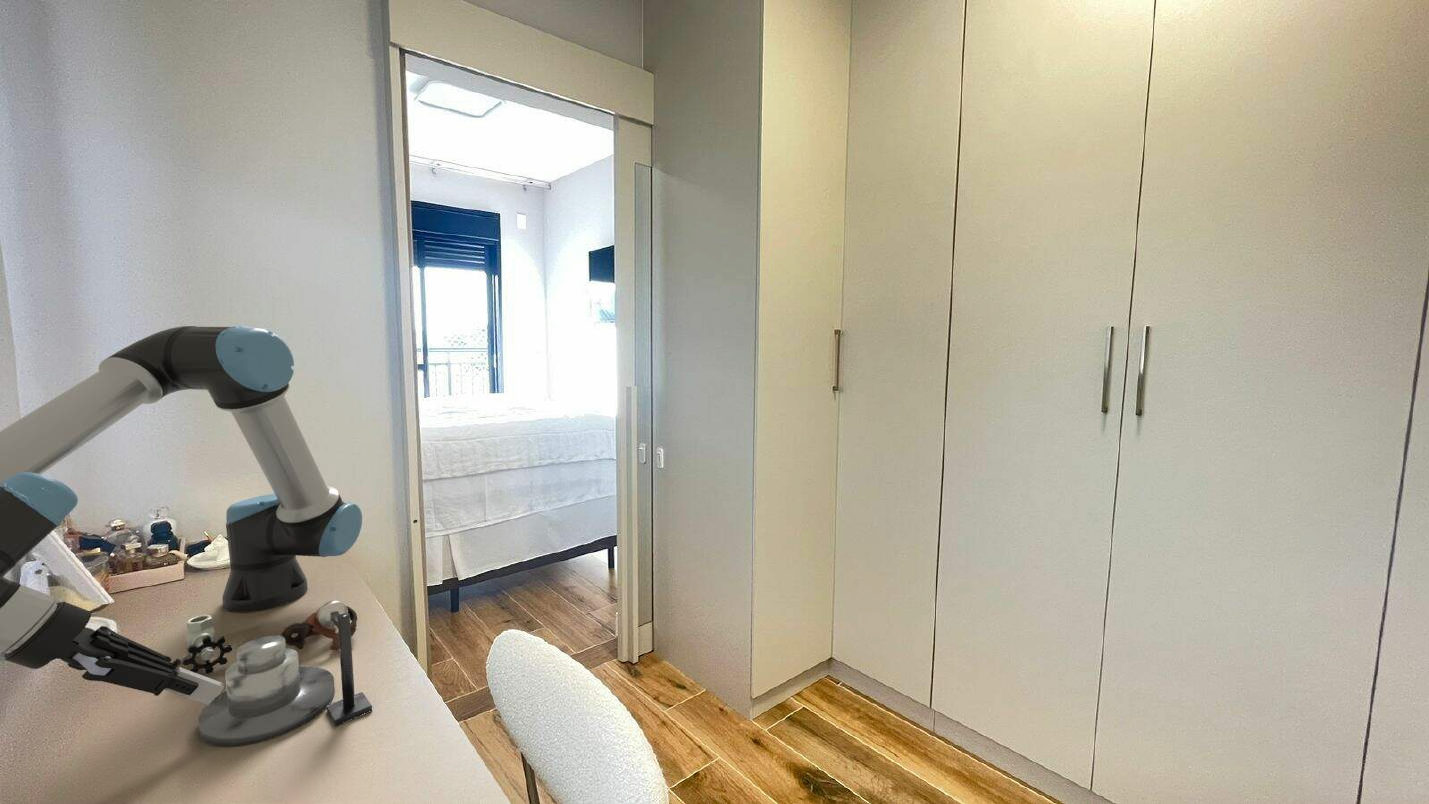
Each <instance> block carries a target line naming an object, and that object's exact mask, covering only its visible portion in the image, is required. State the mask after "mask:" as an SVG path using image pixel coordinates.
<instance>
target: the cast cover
mask: <svg viewBox="0 0 1429 804" xmlns="http://www.w3.org/2000/svg"><path fill="white" fill-rule="evenodd" d="M286 646H287V644H285V638H284V637H282V636H281V635H267V636H262V637H259V638H255V639H252V640H250V641H247V642H245V643H244V644H242V645H240V646H239V647H238V648H237V649H236V653H235V654H236V661H235V662H233V663H232V664H231V665H230V666H229V667H227V669H226V670H225V672H224V676H225V678H224V679H225V691H227V702H228V713H229V714H230V715H231V716H233V717H236V718H251V717H257V716H261V715H264V714H268V713H271V712H273V711H276V710H278V709H280V708H282V707H284V706H286V705H287V704H289V703H290V702H292V701H293V700H294V699H295V698H296V697H297V696H298V695H299V693H300V675H299V667H300V661H299V653H298V651H297V650H295V649H293V648H287V647H286Z"/></svg>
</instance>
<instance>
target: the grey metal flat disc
mask: <svg viewBox="0 0 1429 804" xmlns="http://www.w3.org/2000/svg"><path fill="white" fill-rule="evenodd" d="M299 675H300V693H299V695H298V696H297V697H296V698H295V699H294V700H293V701H292V702H290V703H289V704H287V705H286V706H284V707H282V708H280V709H278V710H276V711H273V712H271V713H268V714H264V715H261V716H257V717H251V718H236V717H233V716H231V715H230V714H229V713H228V702H227V691H226V690H224V691H223V692H220V693H219V694H218V695H217V696H216V697H215V698H214V700H213V701H212V702H211V703H210V704H209V705H207V704H205V706H204V708H203V709H202V710H201V711H200V714H199V716H198V719H197V720H198V732H199V736H200V739H201V740H202V741H203V742H204V743H206V744H207V745H210V746H214V747H219V748H220V747H222V748H233V747H242V746H248V745H253V744H257V743H261V742H265V741H269V740H272V739H275V738H277V737H280V736H283V735H285V734H287V733H290V732H292V731H294V730H296V729H298V728H300V727H302V726H303V725H306V724H307V723H309V722H310V721H312V720H313V719H315V718H316V717H317V716H319V715H320V714H321V713H323V711H324V710H326V709H327V705H329V703H330V702H331V703H332V702H333V699H334V697H335V693H336V689H335V688H336V687H335V677H334V675H333V674H332V673H331V672H330V671H329V670H327V669H324V668H321V667H316V666H299ZM331 703H330V704H331Z"/></svg>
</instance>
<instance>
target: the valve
mask: <svg viewBox="0 0 1429 804" xmlns="http://www.w3.org/2000/svg"><path fill="white" fill-rule="evenodd" d="M186 629H187V632H186V635H185V643H186V645H187V646H188V647H187V653H189V656H190V657H187V656H186V657H183V659H182V660H181V661H182V662H181V663H182V665H183V666H189V665H192V667H190V668H189V671H192V672H194V673H197V674H198V672H199V671H200V670H201V669H203V670H204V672H205V674H212V673H213V672H214V670H215V669H214V666H215V665H218V664H219V665H221V666H224V665H226V664H227V663H228V658H227V657H226V656H224V655H225V654H229V653H231V652H232V651H233V646H232V645H231V644H227V645H226V646H223V645H224V644H225V643H226V641H227V639H226V637H225V636H219V637H218V638H217V640H216V641H215V638H216V634H217V633H216V629H215V627H214V626H213V620H212V615H210V614H201V615H198V616H194V617H191V618H190V619H188V620H186ZM216 648H218V649H219V655H218V656H217V658H216V659H215V660H213V661H211V659H213V658H214V657H215V652H216V651H215V649H216ZM196 657H200V659H201V660H203V661H205V663H204V664H203V663H202V664H201V663H199V662H198V661H196Z"/></svg>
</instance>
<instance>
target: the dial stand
mask: <svg viewBox="0 0 1429 804" xmlns="http://www.w3.org/2000/svg"><path fill="white" fill-rule="evenodd" d="M347 606H348V605H346V604H345V603H344V602H343V601H341V600H338V599H335V600H330V601H327V602H325V603H324V604H323V605H321V607H319V608H320V610H319V612H318V620H319V622H320V623H321V624H322V625H323V626H325V627H336V629H337V631H338V632H337V633H338V634H339V661H340V662H339V665H340V675H341V676H340V679H341V691H342V693H341V694H342V699H340V700H337V701H335V702H331V703H330V704H329V705H327V707H326V713H327V712H328V713H327V714H328V716H329V718H330V720H331V721H332V722H333V724H334V726H335V727H337V726H340V725H343V724H344V723H343V722H345V723H347V722H349V721H348V720H350V721H352V720H355V719H356V718H355V717H357V718H359V717H361V716H360V715H362V714H364V713H367V712H369V711H371V712H373V705H372V704H371V702H370V701H369V699H368V698H367V697H366V695H365V694H364V692H363V691H361V692H358V693H355V680H354V667H353V666H354V664H353V647H352V646H353V645H352V637H351V629H350V623H351V620H350V614H349V613H348V608H347ZM369 713H370V712H369ZM367 714H368V713H367ZM364 715H365V714H364ZM358 716H359V717H358ZM362 716H363V715H362ZM354 718H355V719H354ZM351 719H352V720H351ZM346 721H347V722H346Z"/></svg>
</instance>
